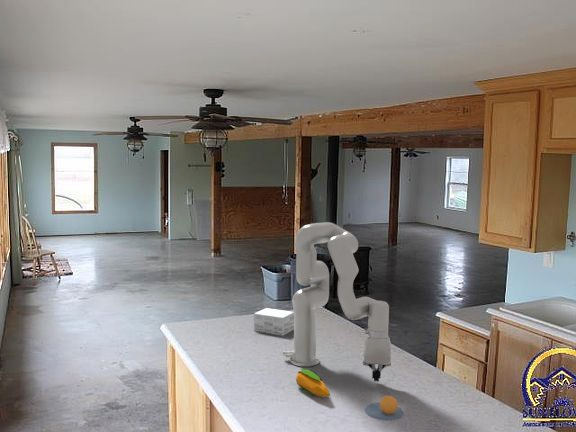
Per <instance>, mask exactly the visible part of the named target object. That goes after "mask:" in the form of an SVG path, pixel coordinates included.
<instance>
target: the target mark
mask: <svg viewBox="0 0 576 432" xmlns="http://www.w3.org/2000/svg"><path fill="white" fill-rule="evenodd" d="M364 412H365V413H366V414H367V415H368V416H370V417H371V418H373V419H377V420H381V421H395V420H398V419H401V418H402V417H404V411H403V409H402V408H401V407H399V406H398V408H397V411H396V412H395V413H393V414H390V415H389V414H385V413H384V412H383V411H382V410H381V408H380V402H373V403H369V404H367V405H366V406H365V407H364Z"/></svg>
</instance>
